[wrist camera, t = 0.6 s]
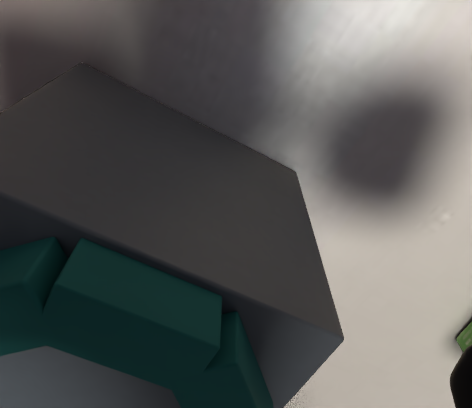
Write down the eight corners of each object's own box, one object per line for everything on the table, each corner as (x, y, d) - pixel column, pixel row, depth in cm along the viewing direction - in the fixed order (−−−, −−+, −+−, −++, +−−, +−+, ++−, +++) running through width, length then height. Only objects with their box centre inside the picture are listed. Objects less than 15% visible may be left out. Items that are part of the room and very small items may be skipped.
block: (198, 320, 24) (175, 529, 15) (14, 247, 22) (-141, 442, 13) (296, 172, 20) (346, 339, 11) (81, 61, 17) (-79, 159, 9)
